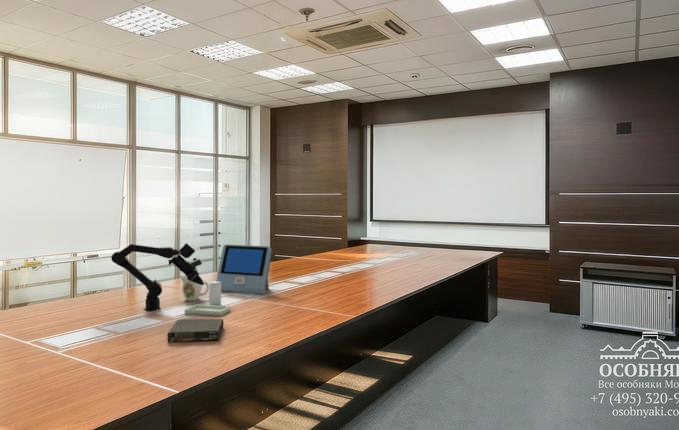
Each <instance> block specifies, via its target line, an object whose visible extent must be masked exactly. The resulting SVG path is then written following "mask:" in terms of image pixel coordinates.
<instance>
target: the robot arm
mask: <svg viewBox="0 0 679 430" xmlns="http://www.w3.org/2000/svg"><path fill="white" fill-rule="evenodd" d="M133 252H134V253H135V252H136V253H143V254H150V255H156V256H158V257H162V258H166V259H168V261H167V262H168V266H171V265H172V264H173V265H174V266H175V267H176V268H178V270H179V271H180V272H182V273H183V274H184V276H187V279H188V280H189V281H191V282H194V283H197V284H200V285H201V286H204V285H205V283H203V281H204V280H203V278H202V277H201V276H200V274H199V271H198V268H197V267H198V266H201V265H202V264H203V263H202V261H201V259H200V258H199V257H198V258H196V257H194V258H193V259H192V261H190V262H189V261H188V260H186V259H189V258H190V257H191V256H192V255H194V253H196V250H195V249H194V248H193V247H192V246H190V245H189V244H188V243H187V242H186V243H185V244H184V245H183V246H182V247H181V248H180V249H175V248H173V247H171V246H160V247H159V246H158V247H156V246H151V245H150V246H149V245H143V244H135V243H130V244H129V245H128V246H126V247H124V248H123V249H121V250H117V251H114V253H113V254H112V255H111V259H110V260H111V261H112V263H114V264H116V265H118V266H119V267H122V268H124V269H125V270H126V271H128V272H129V273H130V274H131V275H132V276H133V277H135V278H136V279H137V280H138V281H139V282H140V283H142V284H143V285H144V286H145V288H146V289H147V293H146V298H145V308H143V311H149V312H153V311H156V310H161V309H162V307H160V306H161V304H160V303H161V302H160V297H159V296H160V295H161V294H162V293H163V287H162V283H160V282H159V281H157V280H158V279H156V278H155V279H154V280H152V279H150V278H149V277H148V276H147V275H146V274H145V273H143V272H142V271H141V270H140V269H138V268H137V267H136V266H135V264H133V263H132V262H131V261H130V260H129V259H128V256H129V255H130V254H131V253H133ZM200 277H201V278H200Z"/></svg>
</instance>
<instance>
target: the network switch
mask: <svg viewBox="0 0 679 430" xmlns="http://www.w3.org/2000/svg"><path fill="white" fill-rule="evenodd" d="M223 329H224V319H223V318H188V319H187V318H184V319H183V318H182V319H177V320H176V321H175V323H174V324H173V325H172V327H171V328H170V329H169V331H168V332H167V334H166V335H167V343H173V342H179V343H180V342H194V341H195V342H199V341H201V342H202V341H217V342H218V341H219V339H220V335H221V334H222V331H223Z"/></svg>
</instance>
